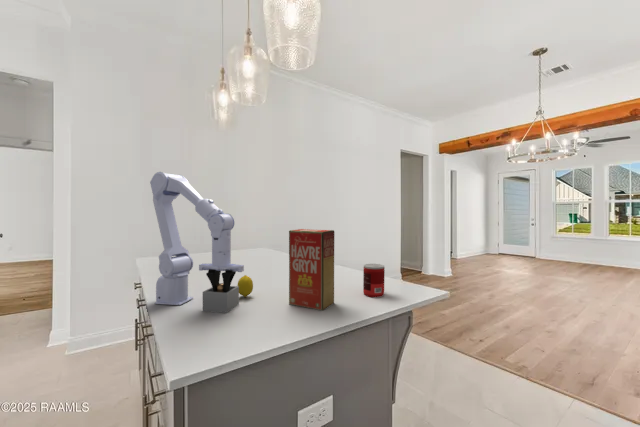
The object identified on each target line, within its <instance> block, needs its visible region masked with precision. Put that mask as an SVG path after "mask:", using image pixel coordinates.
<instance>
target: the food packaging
mask: <svg viewBox="0 0 640 427" xmlns="http://www.w3.org/2000/svg"><path fill="white" fill-rule="evenodd" d="M288 260H289V261H288V263H289V264H288V276H289V278H288V305H291V306H297V307H301V308H306V309H310V310H311V309H312V310H317V311H325V310H326V309H328V308H330V307H331V306H333V305H334V304H335V230H334V229H331V230H330V229H311V228H310V229H309V228H307V229H306V228H305V229H304V228H298V229H291V230H289V231H288Z"/></svg>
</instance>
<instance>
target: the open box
mask: <svg viewBox="0 0 640 427" xmlns="http://www.w3.org/2000/svg"><path fill="white" fill-rule="evenodd" d="M239 295H240V294H239V286H237V285H230V289H229V291H228V292H226V293H225V292H213V288H212V286H211V287H209V288H207V289H206V290H203V291H202V312H209V311H212V312H213V313H224V314H225V313H226V314H227V313H229V312H230V311H232V310H233V309H234V308H236V307H237V306H238V305H240V303H239V302H240V300H239V298H240V296H239Z"/></svg>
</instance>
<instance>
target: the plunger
mask: <svg viewBox="0 0 640 427" xmlns="http://www.w3.org/2000/svg"><path fill="white" fill-rule="evenodd" d="M223 287H224V284H223V282H222V283H220V282H219V284H217V292H223Z"/></svg>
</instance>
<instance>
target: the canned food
mask: <svg viewBox="0 0 640 427" xmlns="http://www.w3.org/2000/svg"><path fill="white" fill-rule="evenodd" d="M362 282H363V285H362V286H363V295H364V296H366V297H369V298H381V297H383V296H384V295H385V265H383V264H380V263H366V264H363V281H362Z"/></svg>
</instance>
